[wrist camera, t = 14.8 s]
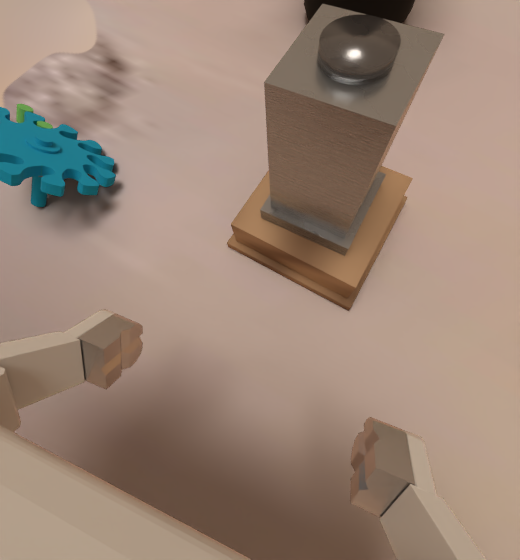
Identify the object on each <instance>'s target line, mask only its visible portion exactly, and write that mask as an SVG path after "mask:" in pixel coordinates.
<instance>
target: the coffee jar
mask: <svg viewBox="0 0 520 560" xmlns="http://www.w3.org/2000/svg"><path fill="white" fill-rule="evenodd" d="M414 1H415V0H304V6H305V9H306V13H307V17H308V20H309V21H310V20H311V18H312V17H313V16H314V14H315V13H316V12H317V10H318V9H319V8H320V6H321V5H322V4H326V5H330V6H334V7H338V8H342V9H346V10H350V11H354V12H358V13H362V14H366V15H371V16H376V17H379V18H382V19H386V20H390V21H394V22H398V23H403V22H404V21H405V19H406V18H407V16H408V14H409V13H410V11H411V9H412V7H413V4H414Z"/></svg>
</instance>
